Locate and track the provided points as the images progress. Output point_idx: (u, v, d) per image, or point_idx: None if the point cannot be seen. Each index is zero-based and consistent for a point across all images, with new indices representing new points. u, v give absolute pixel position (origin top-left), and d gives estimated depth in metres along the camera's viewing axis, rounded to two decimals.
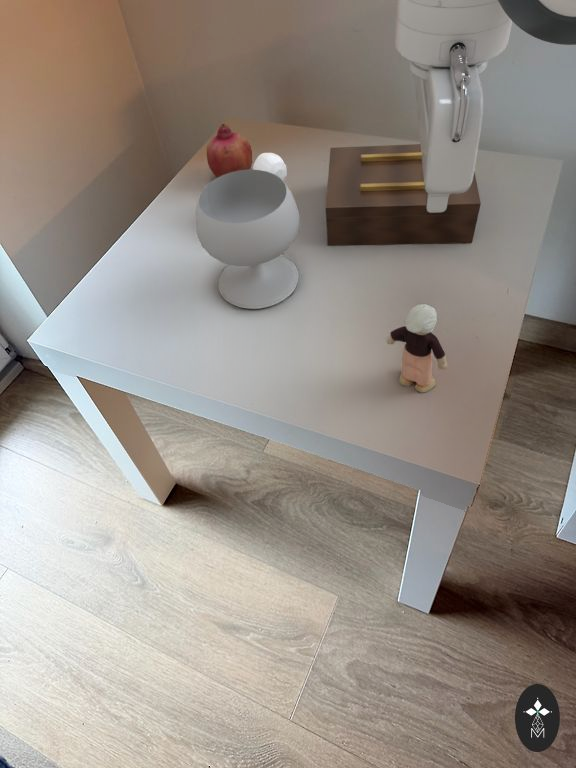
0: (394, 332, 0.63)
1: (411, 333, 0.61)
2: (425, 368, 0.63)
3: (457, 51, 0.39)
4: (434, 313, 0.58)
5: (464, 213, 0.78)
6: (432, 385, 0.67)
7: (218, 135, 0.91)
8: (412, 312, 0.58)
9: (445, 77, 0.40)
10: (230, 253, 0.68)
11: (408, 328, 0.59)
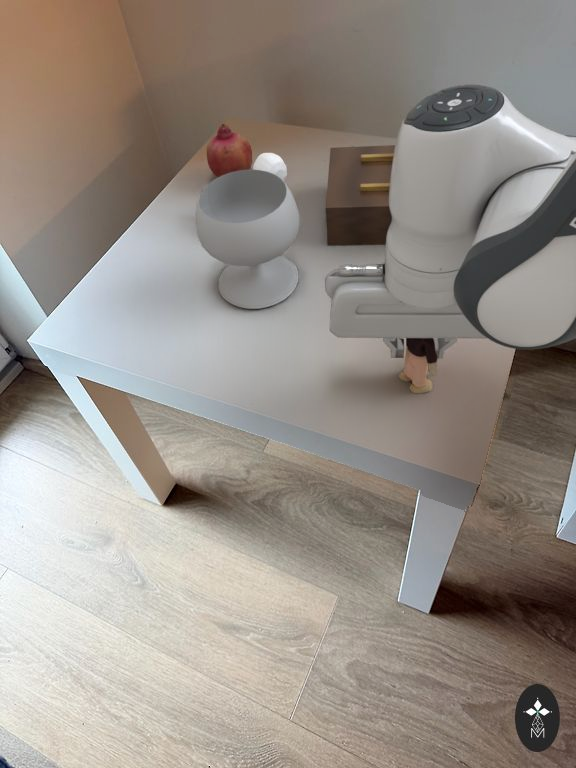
0: None
1: None
2: (419, 369, 0.64)
3: (373, 264, 0.54)
4: None
5: None
6: (426, 389, 0.66)
7: (218, 135, 0.91)
8: None
9: None
10: (230, 253, 0.68)
11: None
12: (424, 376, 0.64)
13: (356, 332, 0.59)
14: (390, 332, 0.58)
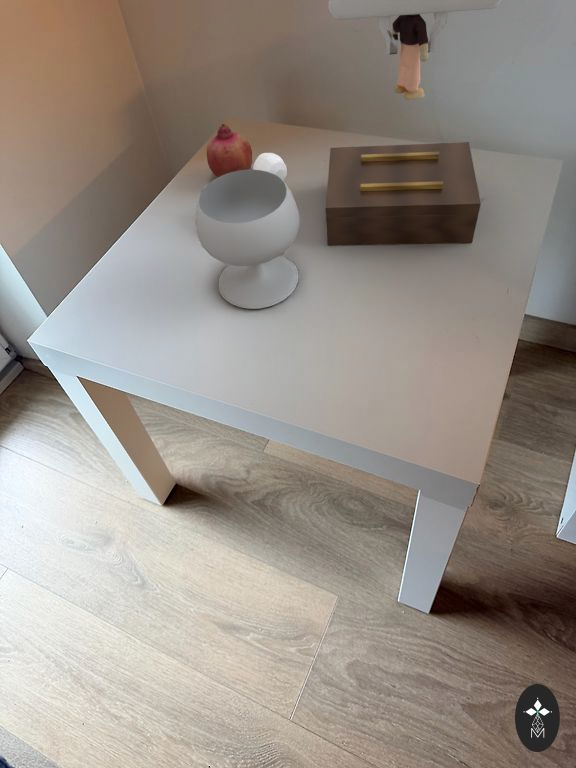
0: (395, 20, 0.67)
1: (405, 15, 0.65)
2: (411, 64, 0.68)
3: None
4: None
5: (464, 213, 0.78)
6: (419, 95, 0.71)
7: (218, 135, 0.91)
8: None
9: None
10: (230, 253, 0.68)
11: None
12: (416, 74, 0.69)
13: (353, 8, 0.63)
14: (384, 5, 0.63)
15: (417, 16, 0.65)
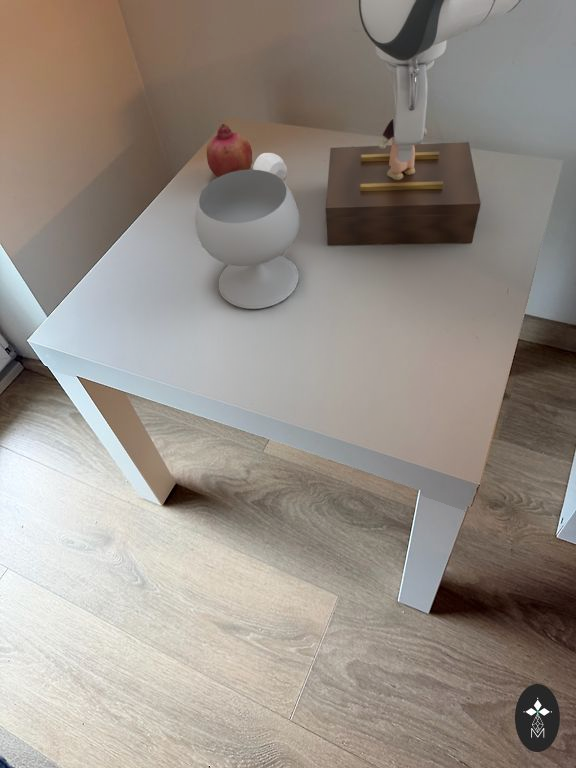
0: (387, 131, 0.75)
1: None
2: (413, 146, 0.79)
3: None
4: None
5: (464, 213, 0.78)
6: None
7: (218, 135, 0.91)
8: None
9: (405, 70, 0.65)
10: (230, 253, 0.68)
11: None
12: None
13: None
14: None
15: None
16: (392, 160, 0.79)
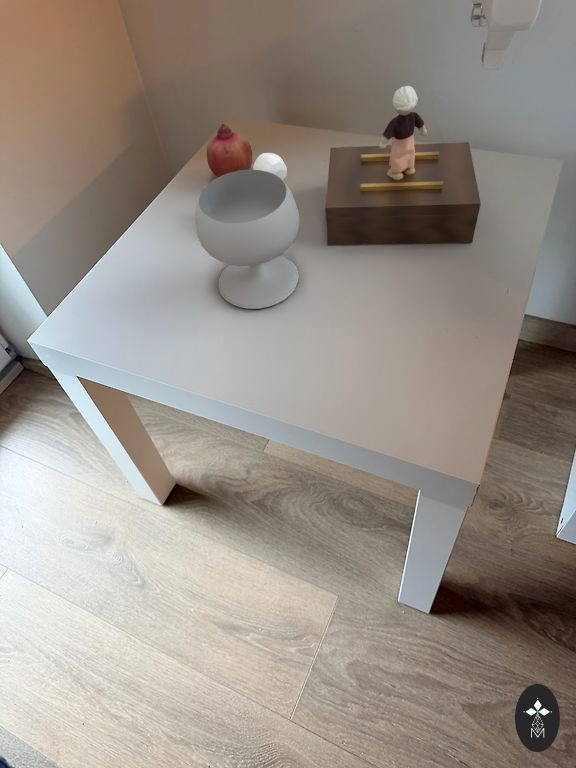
0: (387, 131, 0.75)
1: (402, 118, 0.74)
2: (413, 146, 0.79)
3: None
4: (411, 87, 0.73)
5: (464, 213, 0.78)
6: None
7: (218, 135, 0.91)
8: (400, 96, 0.72)
9: None
10: (230, 253, 0.68)
11: (407, 108, 0.72)
12: None
13: None
14: None
15: None
16: (392, 160, 0.79)
